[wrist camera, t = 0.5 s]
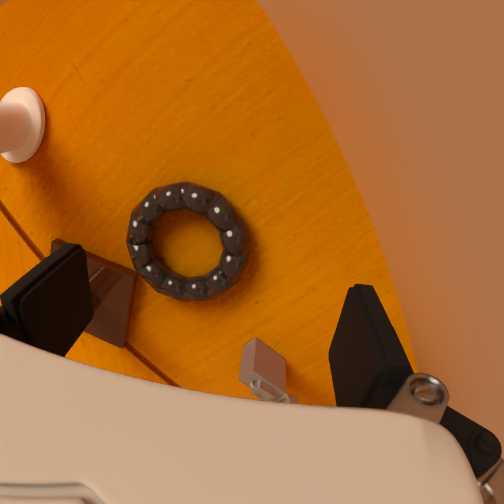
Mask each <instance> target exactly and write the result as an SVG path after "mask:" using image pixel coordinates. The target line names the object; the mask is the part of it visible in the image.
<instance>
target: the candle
mask: <svg viewBox="0 0 504 504" xmlns="http://www.w3.org/2000/svg"><path fill="white" fill-rule="evenodd" d="M44 130H45V110H44V106H43V103H42V101H41V99H40V97H39V96H38V94H37V93H36V92H35V91H34V90H32V89H30V88H27V87H19V88H15V89H13V90H11V91H9V92H8V93H7V94H6V95H5V96H4V97H3V99H2V100H1V102H0V154H1V155H2V156H3V157H4V158H5V159H6V160H7V161H9V162H13V163H20V162H23V161H26V160H27V159H29V158H30V157H32V156H33V155H34V153H35V152H36V151H37V149H38V148H39V146H40V144H41V141H42V138H43V135H44Z"/></svg>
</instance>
